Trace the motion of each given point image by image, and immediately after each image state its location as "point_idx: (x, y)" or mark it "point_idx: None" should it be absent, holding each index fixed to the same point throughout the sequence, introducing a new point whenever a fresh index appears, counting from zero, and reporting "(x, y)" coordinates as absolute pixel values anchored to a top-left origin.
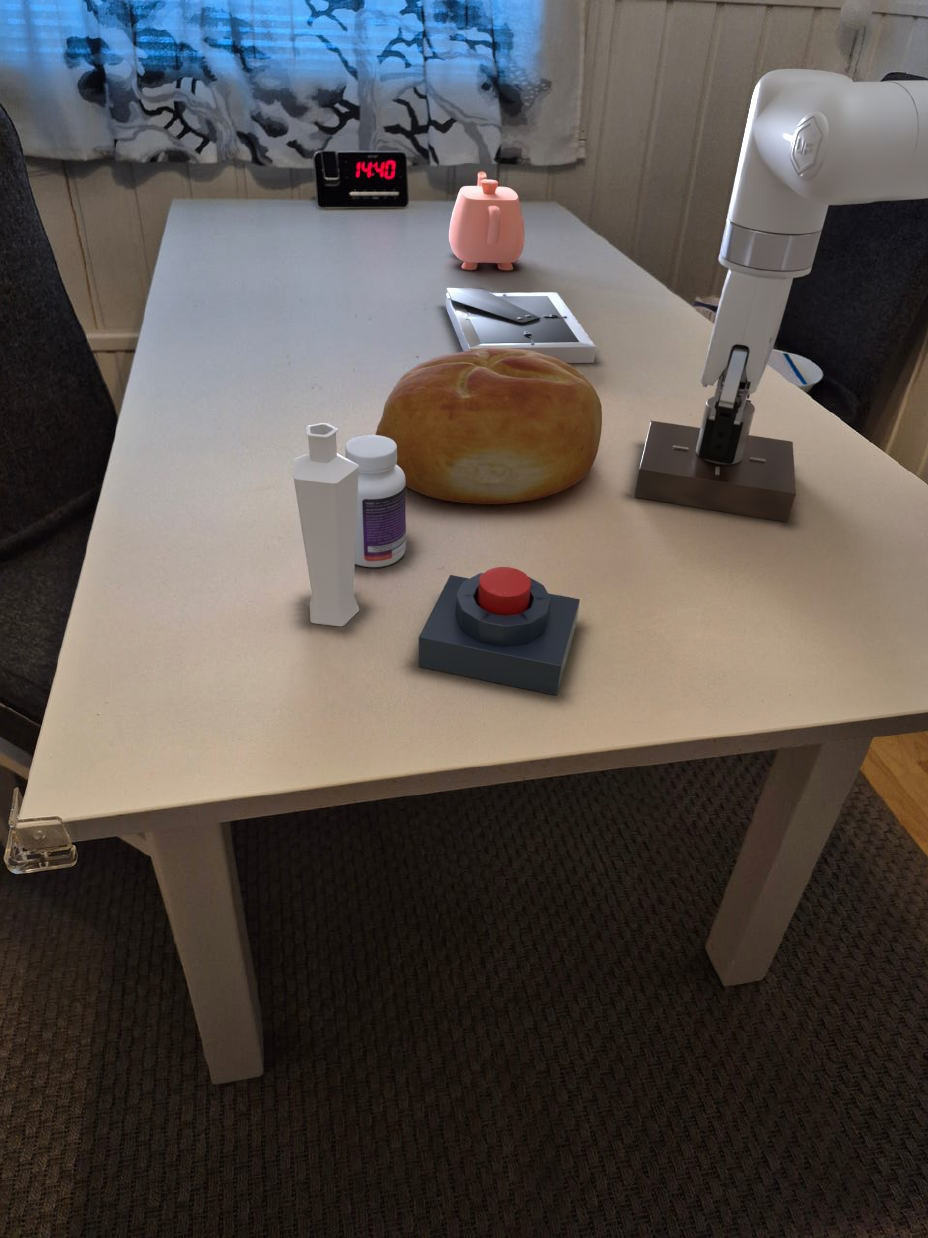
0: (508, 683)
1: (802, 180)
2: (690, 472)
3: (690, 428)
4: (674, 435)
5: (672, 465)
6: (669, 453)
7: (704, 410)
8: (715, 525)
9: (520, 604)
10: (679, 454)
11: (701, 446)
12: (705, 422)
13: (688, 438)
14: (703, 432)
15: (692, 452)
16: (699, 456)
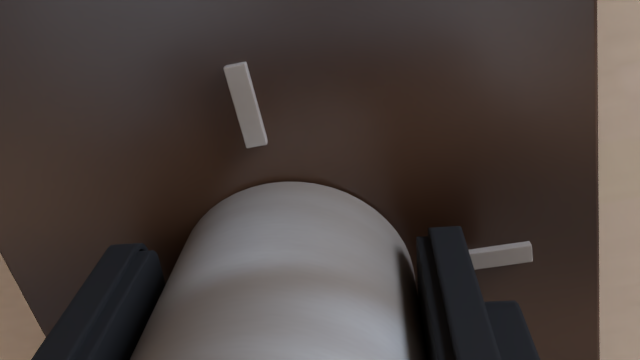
0: None
1: None
2: (21, 212)
3: (560, 84)
4: (409, 21)
5: (25, 117)
6: (146, 64)
7: (216, 349)
8: (10, 274)
9: None
10: (171, 117)
11: (90, 280)
12: (149, 339)
13: (409, 108)
14: (172, 291)
15: (242, 170)
16: (113, 245)
